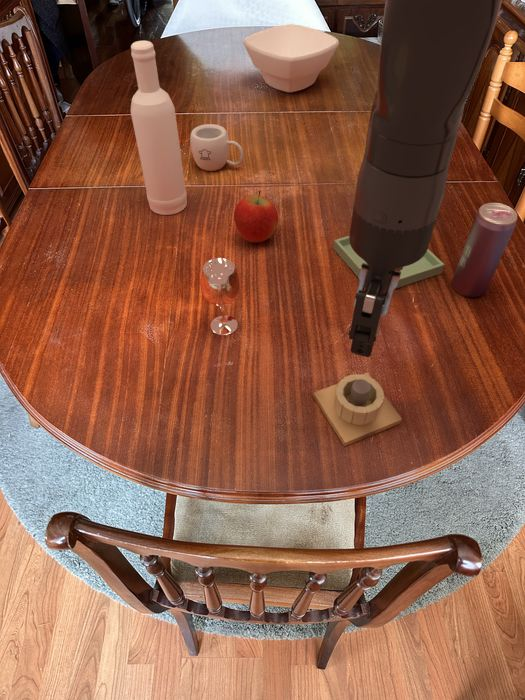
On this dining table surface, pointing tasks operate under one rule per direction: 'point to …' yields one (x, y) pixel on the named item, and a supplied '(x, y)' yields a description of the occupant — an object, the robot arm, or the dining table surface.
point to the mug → (212, 147)
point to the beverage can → (484, 249)
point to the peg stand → (357, 398)
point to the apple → (256, 218)
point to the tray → (409, 274)
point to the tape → (358, 413)
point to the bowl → (290, 55)
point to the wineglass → (220, 291)
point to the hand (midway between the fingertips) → (369, 326)
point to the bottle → (156, 135)
